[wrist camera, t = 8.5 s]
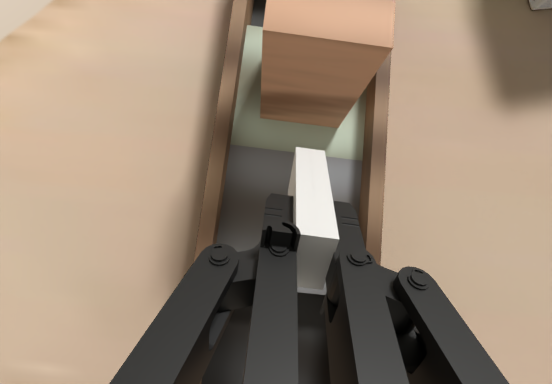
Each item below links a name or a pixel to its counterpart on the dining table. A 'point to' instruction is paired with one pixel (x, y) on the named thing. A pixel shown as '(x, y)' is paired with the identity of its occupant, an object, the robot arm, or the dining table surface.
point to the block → (321, 56)
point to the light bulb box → (540, 4)
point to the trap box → (283, 183)
